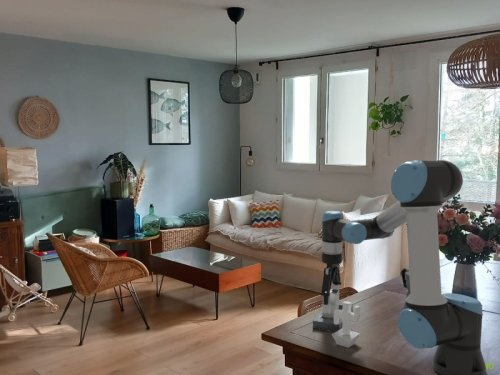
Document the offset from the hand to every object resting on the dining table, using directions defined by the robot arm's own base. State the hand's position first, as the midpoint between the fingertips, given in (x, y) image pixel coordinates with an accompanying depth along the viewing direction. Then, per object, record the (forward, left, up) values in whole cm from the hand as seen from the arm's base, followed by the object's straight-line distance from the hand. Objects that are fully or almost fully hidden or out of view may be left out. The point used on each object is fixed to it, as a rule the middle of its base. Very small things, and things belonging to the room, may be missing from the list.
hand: (330, 306), depth 189 cm
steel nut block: (0, 0, -7) cm, 7 cm away
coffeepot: (+31, -28, -7) cm, 42 cm away
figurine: (-16, -10, -7) cm, 20 cm away
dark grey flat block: (+5, 0, -7) cm, 8 cm away
